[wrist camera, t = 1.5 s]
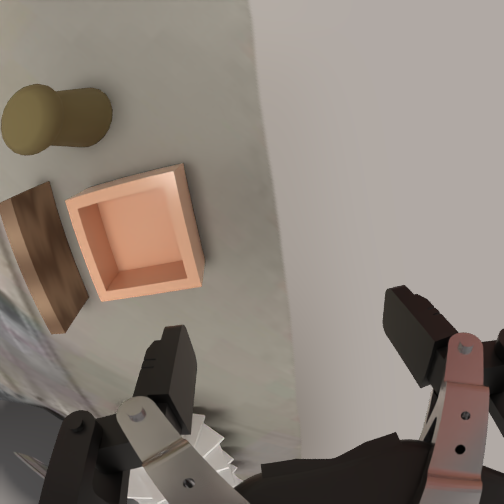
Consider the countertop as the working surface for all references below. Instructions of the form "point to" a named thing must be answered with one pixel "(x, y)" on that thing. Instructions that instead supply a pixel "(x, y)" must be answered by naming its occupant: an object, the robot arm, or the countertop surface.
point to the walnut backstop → (44, 256)
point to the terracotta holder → (139, 234)
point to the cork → (54, 118)
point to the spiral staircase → (205, 445)
